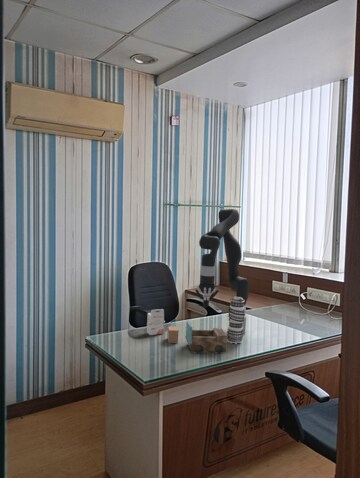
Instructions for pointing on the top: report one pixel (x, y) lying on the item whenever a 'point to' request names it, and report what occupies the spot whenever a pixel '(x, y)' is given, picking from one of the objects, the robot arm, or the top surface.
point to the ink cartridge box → (155, 322)
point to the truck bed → (208, 341)
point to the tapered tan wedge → (172, 334)
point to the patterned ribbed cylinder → (236, 320)
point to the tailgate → (188, 332)
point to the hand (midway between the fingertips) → (205, 306)
